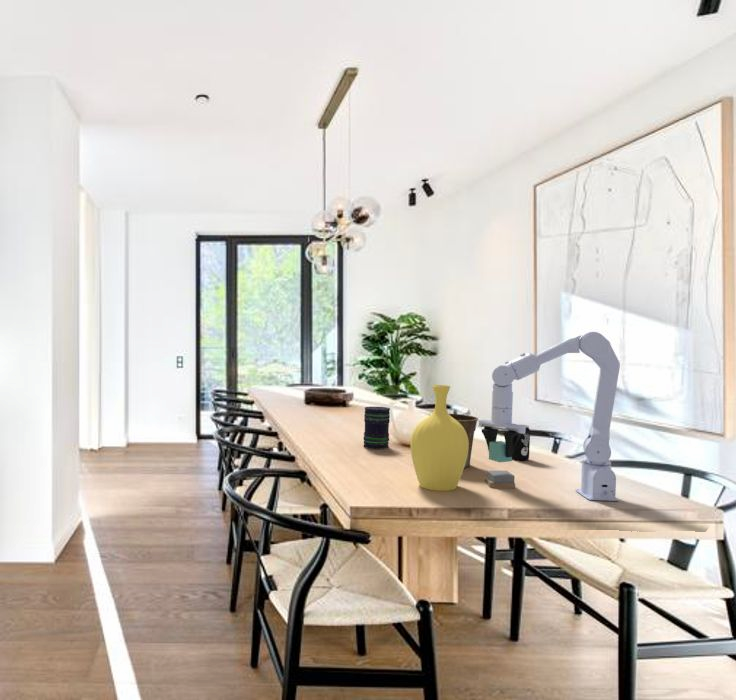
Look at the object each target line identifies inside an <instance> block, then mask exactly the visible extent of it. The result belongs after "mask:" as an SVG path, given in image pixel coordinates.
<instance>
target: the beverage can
mask: <svg viewBox="0 0 736 700" xmlns="http://www.w3.org/2000/svg"><path fill="white" fill-rule="evenodd" d="M520 425H521V426H526V430H525V433H522V434H521V436H520V438H519V439H518V441H517V443H516V445H515V448H514V451H513V455H512V460H513V459H514V460H513V461H517V460H519V461H518V462H525V461H526V460H527V461H528V460H529V459H530V445H531V444H530V442H531V430H530V426H529V425H526V424H520ZM527 461H526V462H527Z"/></svg>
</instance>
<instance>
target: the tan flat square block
mask: <svg viewBox="0 0 736 700" xmlns="http://www.w3.org/2000/svg"><path fill="white" fill-rule="evenodd" d="M484 482H485V483H486V485H487V486H488V487H489V488H491V489H492V488H493V489H494V488H495V489H516V483H515V482H514V483H493V482H492V481H491V480H489V479H488V478H487V476H484Z"/></svg>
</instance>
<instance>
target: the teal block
mask: <svg viewBox="0 0 736 700" xmlns="http://www.w3.org/2000/svg"><path fill="white" fill-rule="evenodd" d="M488 460H490V461H493V462H498V463H506V462H507V463H508V462H512V460H513V459H512V457H506V443H505V441H503V440H498V441H497V440H496V441H494V442H489V451H488Z"/></svg>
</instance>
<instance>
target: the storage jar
mask: <svg viewBox="0 0 736 700" xmlns="http://www.w3.org/2000/svg"><path fill="white" fill-rule="evenodd" d="M390 409H391V408H390V407H386V406H365V407H364V416H363V417H364V419H363V420H364V432H363V448H365V449H368V450H387V449H389V443H390V433H389V432H390V431H389V429H390V418H391V411H390Z"/></svg>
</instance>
